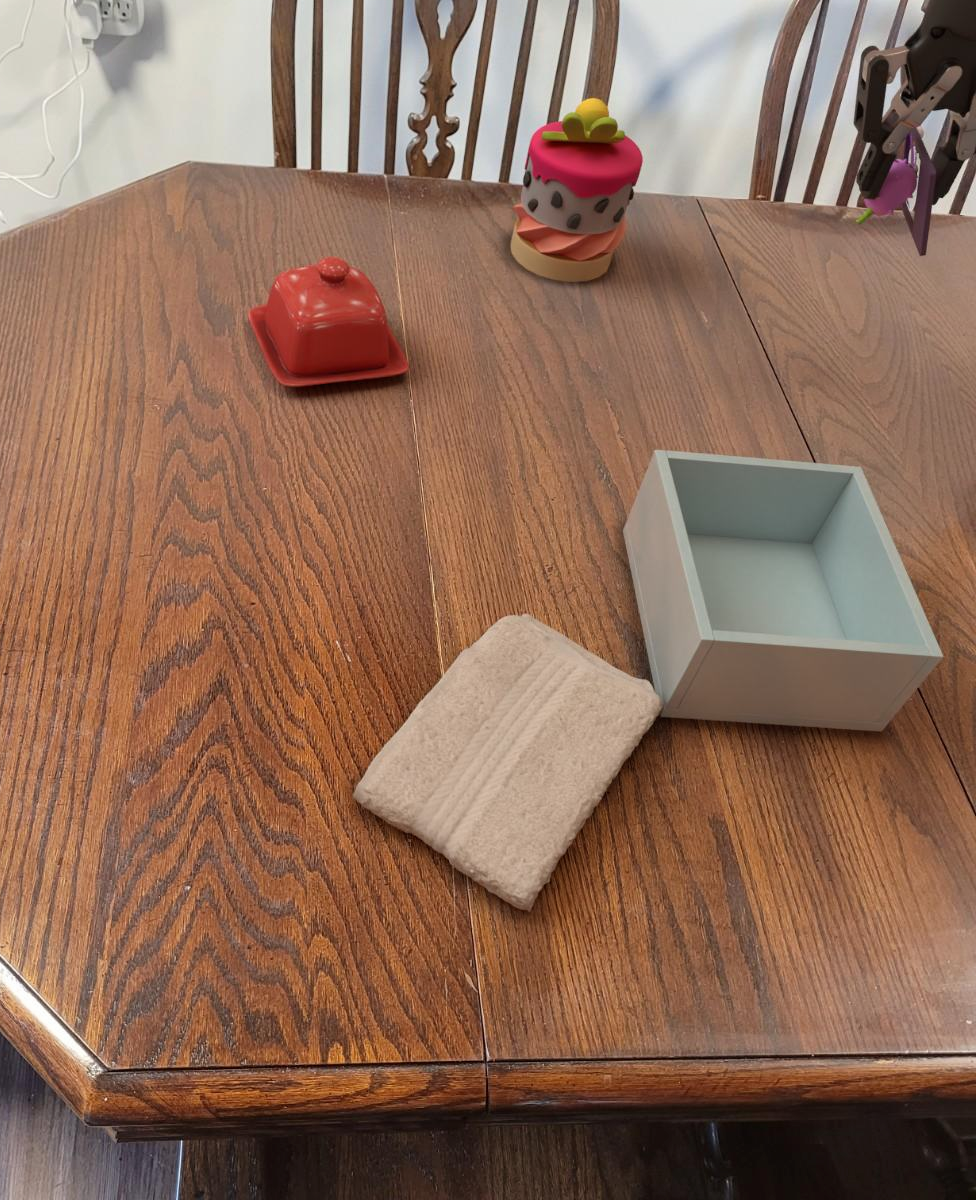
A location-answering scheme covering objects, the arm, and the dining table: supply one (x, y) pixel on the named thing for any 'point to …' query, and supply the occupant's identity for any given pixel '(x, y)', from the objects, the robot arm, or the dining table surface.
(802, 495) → the open box
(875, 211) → the pink dragon fruit
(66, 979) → the dining table surface
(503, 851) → the washcloth
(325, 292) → the butter dish
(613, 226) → the cake
